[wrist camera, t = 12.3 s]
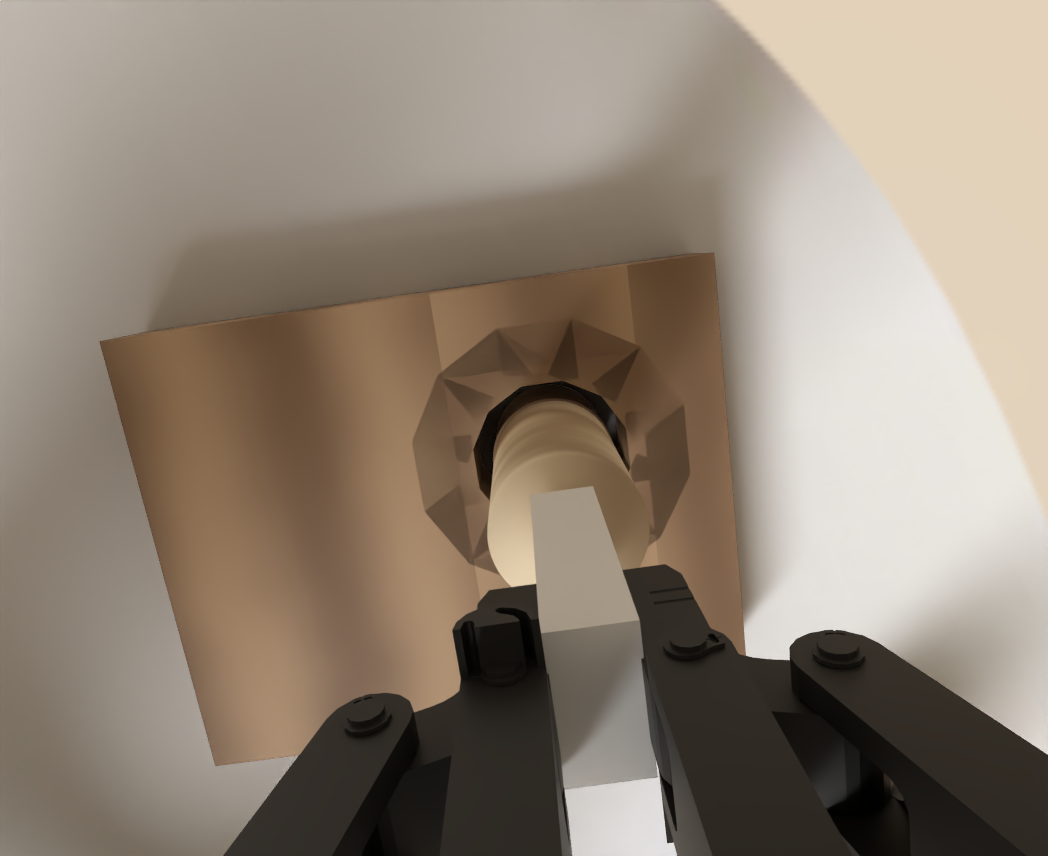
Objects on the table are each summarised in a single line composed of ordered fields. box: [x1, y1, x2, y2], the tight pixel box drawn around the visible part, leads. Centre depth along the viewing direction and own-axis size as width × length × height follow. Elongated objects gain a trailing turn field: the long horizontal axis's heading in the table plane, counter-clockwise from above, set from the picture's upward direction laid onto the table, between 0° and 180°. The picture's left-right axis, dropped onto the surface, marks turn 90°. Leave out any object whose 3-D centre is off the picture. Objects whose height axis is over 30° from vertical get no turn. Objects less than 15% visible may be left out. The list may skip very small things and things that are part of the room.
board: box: [100, 253, 746, 766], centre depth 27 cm, size 20×16×3 cm
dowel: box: [487, 384, 650, 587], centre depth 23 cm, size 4×4×10 cm
